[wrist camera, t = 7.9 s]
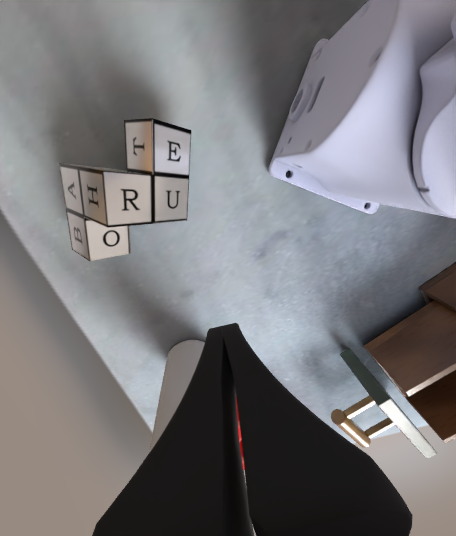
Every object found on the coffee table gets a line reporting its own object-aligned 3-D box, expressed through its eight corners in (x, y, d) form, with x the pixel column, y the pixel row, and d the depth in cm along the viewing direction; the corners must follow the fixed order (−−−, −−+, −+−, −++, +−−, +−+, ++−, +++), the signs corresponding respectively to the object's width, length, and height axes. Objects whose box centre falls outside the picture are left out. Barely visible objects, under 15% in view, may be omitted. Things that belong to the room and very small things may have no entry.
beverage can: (195, 379, 24) (190, 554, 13) (157, 359, 22) (115, 539, 12) (225, 351, 23) (247, 516, 12) (187, 328, 21) (173, 495, 10)
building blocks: (111, 275, 12) (96, 100, 9) (72, 249, 15) (50, 109, 12) (185, 257, 16) (191, 130, 13) (143, 238, 19) (140, 131, 16)
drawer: (352, 424, 29) (385, 480, 24) (302, 378, 25) (329, 434, 19) (473, 354, 26) (540, 400, 21) (440, 287, 21) (516, 324, 16)
